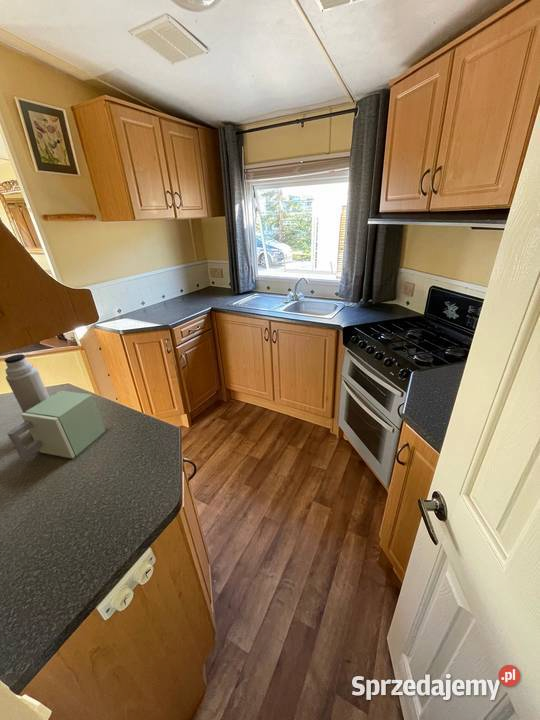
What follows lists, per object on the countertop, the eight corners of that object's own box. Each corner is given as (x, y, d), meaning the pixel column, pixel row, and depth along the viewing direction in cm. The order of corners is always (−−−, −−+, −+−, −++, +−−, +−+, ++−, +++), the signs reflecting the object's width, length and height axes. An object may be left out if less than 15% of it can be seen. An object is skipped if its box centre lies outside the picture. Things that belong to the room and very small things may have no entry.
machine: (76, 456, 89) (58, 416, 82) (44, 449, 92) (24, 411, 86) (105, 431, 99) (91, 394, 93) (75, 426, 102) (60, 390, 96)
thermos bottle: (29, 433, 100) (-9, 360, 88) (53, 419, 107) (21, 350, 94) (42, 439, 97) (5, 364, 85) (66, 425, 103) (35, 353, 91)
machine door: (55, 473, 83) (34, 433, 76) (21, 466, 86) (-1, 427, 80) (75, 456, 89) (57, 417, 82) (43, 450, 92) (24, 412, 86)
